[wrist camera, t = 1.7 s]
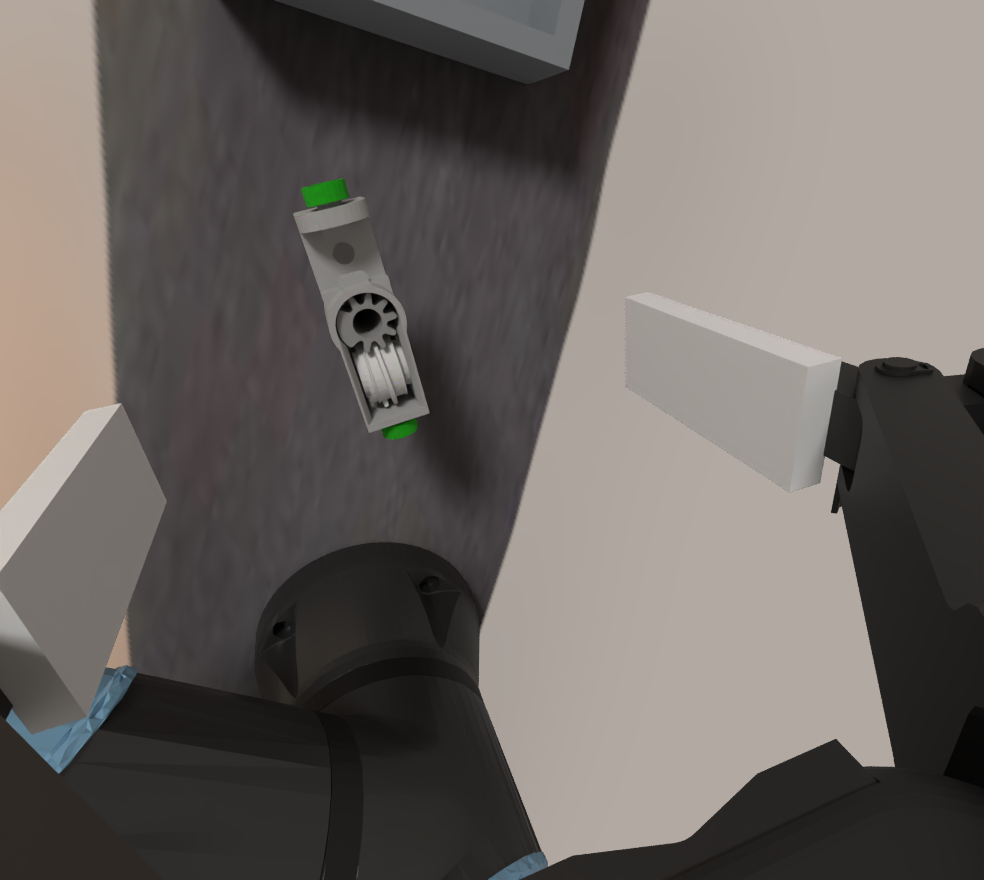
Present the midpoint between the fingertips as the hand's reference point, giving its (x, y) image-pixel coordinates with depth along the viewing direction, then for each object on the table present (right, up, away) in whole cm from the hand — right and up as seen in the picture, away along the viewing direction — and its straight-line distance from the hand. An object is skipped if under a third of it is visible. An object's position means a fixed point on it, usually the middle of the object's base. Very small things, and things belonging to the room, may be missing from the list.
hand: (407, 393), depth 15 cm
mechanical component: (-6, +7, +16) cm, 18 cm away
